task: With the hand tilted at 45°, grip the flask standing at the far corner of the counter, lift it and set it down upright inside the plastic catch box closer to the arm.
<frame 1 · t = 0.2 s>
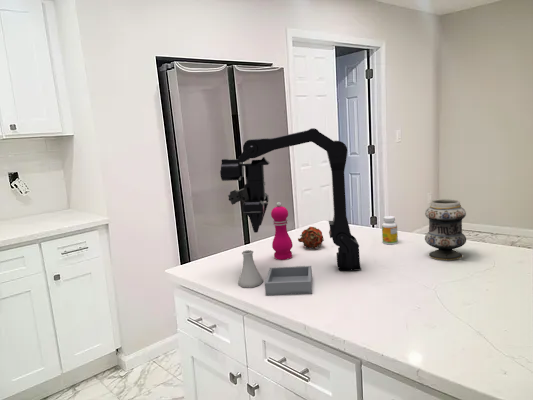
hand: (257, 228, 125), 14 cm above the worktop, tool pointing down, fingers open, 9 cm apart
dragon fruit: (311, 247, 150), on the worktop
flask: (250, 284, 118), on the worktop
catch box: (290, 285, 114), on the worktop
apothecary jar: (445, 256, 127), on the worktop
pepper mill: (283, 257, 141), on the worktop
supplement bottle: (390, 243, 146), on the worktop
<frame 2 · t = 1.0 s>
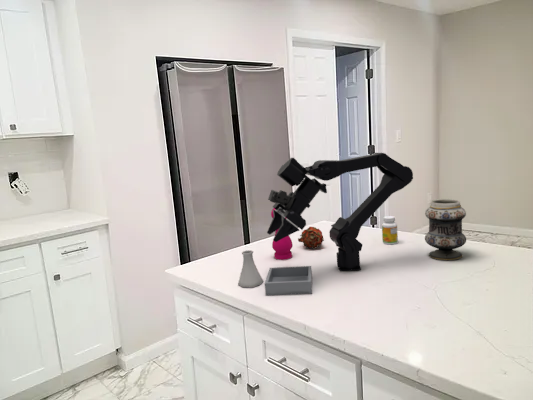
hand: (271, 237, 118), 13 cm above the worktop, tool tilted 45°, fingers open, 9 cm apart
nothing on the worktop moved.
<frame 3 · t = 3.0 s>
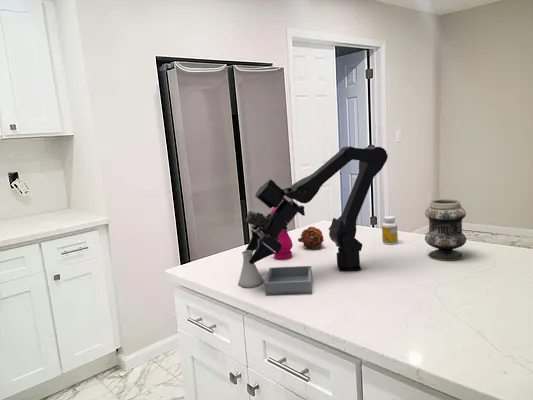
hand: (247, 258, 117), 8 cm above the worktop, tool tilted 45°, fingers open, 9 cm apart
nothing on the worktop moved.
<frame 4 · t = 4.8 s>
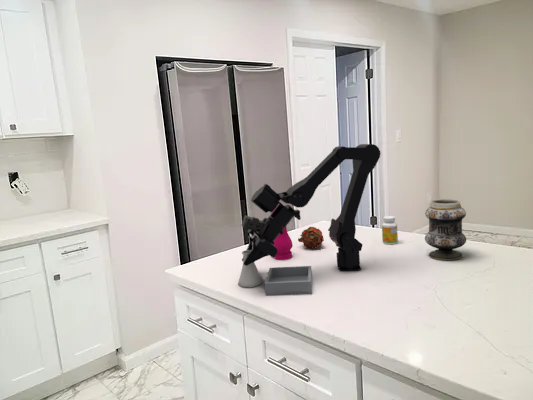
hand: (243, 263, 117), 7 cm above the worktop, tool tilted 45°, fingers closed on flask, 3 cm apart
flask: (250, 284, 118), on the worktop, touching gripper
everything else where it was.
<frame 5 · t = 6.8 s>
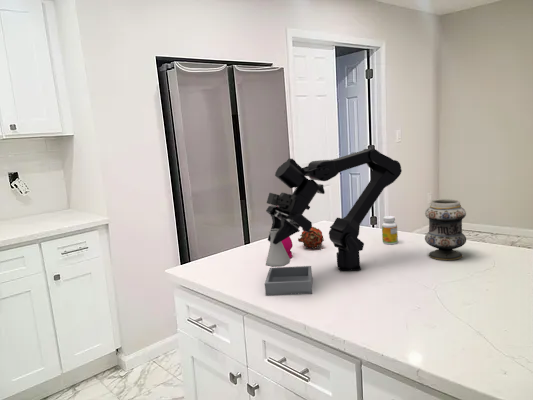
hand: (271, 242, 112), 13 cm above the worktop, tool tilted 45°, fingers closed on flask, 3 cm apart
flask: (278, 264, 114), point 6 cm above the worktop, touching gripper
everything else where it was.
when the fingers open (9 cm above the worktop, at t = 8.8 s): flask drops 1 cm, resting on catch box.
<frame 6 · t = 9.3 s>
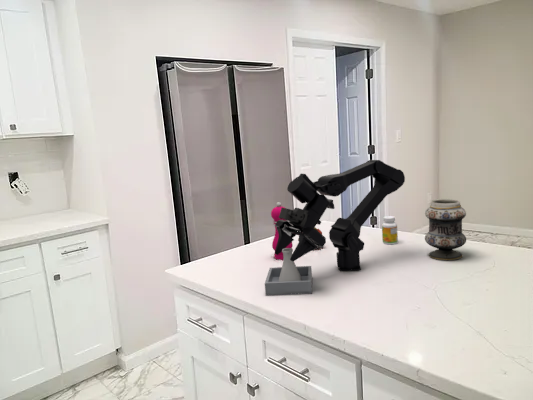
hand: (283, 257, 112), 9 cm above the worktop, tool tilted 45°, fingers open, 8 cm apart
flask: (290, 283, 114), point 1 cm above the worktop, touching catch box
everything else where it was.
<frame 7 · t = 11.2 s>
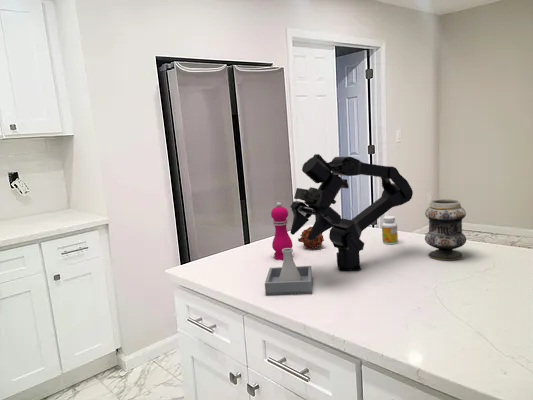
hand: (299, 236, 114), 14 cm above the worktop, tool tilted 45°, fingers open, 9 cm apart
nothing on the worktop moved.
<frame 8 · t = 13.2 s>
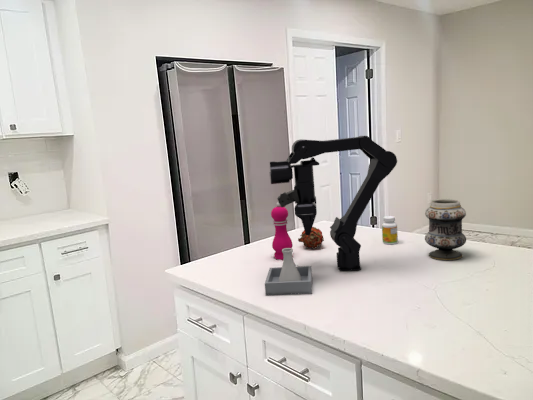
hand: (308, 231, 122), 13 cm above the worktop, tool pointing down, fingers open, 9 cm apart
nothing on the worktop moved.
at the end: flask inside the target area on the catch box (0.2 cm from its centre), point 0.6 cm above the catch box's base; flask tilted 0°; the gripper is holding nothing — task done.
